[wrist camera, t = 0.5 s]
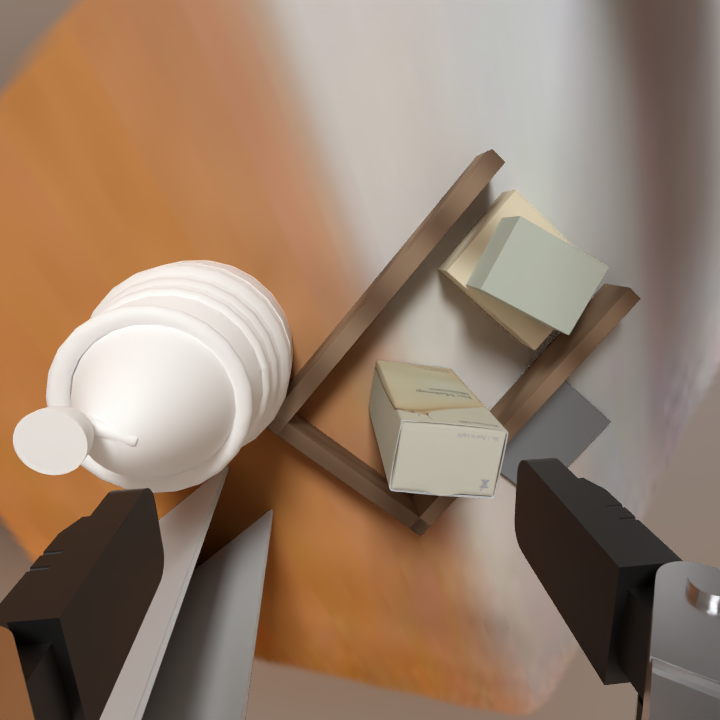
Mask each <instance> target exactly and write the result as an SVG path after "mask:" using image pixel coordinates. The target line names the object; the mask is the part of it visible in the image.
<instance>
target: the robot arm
mask: <svg viewBox="0 0 720 720" xmlns="http://www.w3.org/2000/svg"><path fill="white" fill-rule="evenodd" d="M515 532H516V537H517V541H518V544H519V547H520V549H521V551H522V553H523V554H524V556H525V558H526V559H527V561H528V562H529V564H530V566H531V567H532V569H533V570H534V572H535V574H536V575H537V577H538V579H539V580H540V582H541V583H542V585H543V587H544V588H545V590H546V591H547V593H548V595H549V596H550V598H551V600H552V601H553V603H554V604H555V606H556V608H557V609H558V611H559V612H560V614H561V616H562V617H563V619H564V621H565V622H566V624H567V625H568V627H569V629H570V630H571V632H572V633H573V635H574V637H575V638H576V640H577V642H578V643H579V645H580V646H581V648H582V650H583V651H584V653H585V654H586V656H587V658H588V659H589V661H590V663H591V664H592V666H593V667H594V669H595V671H596V672H597V674H598V675H599V677H600V679H601V680H602V682H603V683H604V685H609V684H618V683H627V682H631V684H632V685H633V686H634V688H635V689H636V691H637V692H638V695H637V702H636V708H635V720H720V569H718V568H715V567H712V566H709V565H705V564H701V563H696V562H687V561H682V560H681V559H680V558H679V557H678V556H677V555H676V554H675V553H674V552H673V551H672V550H670V549H669V548H668V547H667V546H666V545H665V544H664V543H663V542H662V541H661V540H660V539H659V538H658V537H656V536H655V535H654V534H653V533H652V532H651V531H650V530H649V529H648V528H647V527H646V526H645V525H643V524H642V523H641V522H640V521H639V520H636V519H635V516H634V515H633V514H632V513H631V512H629V511H628V510H627V509H626V508H625V507H624V508H623V507H622V504H621V503H620V502H619V501H618V500H616V499H615V498H614V497H613V496H612V495H611V494H610V493H609V492H608V491H607V490H605V489H604V488H602V487H600V486H598V485H596V484H594V483H592V482H590V481H588V480H586V479H584V478H577V477H576V476H575V475H574V474H573V473H572V472H571V471H570V470H569V469H568V468H567V467H566V466H565V465H564V464H563V463H562V462H561V461H560V460H558V459H557V458H543V459H530V460H522V461H520V463H519V465H518V470H517V486H516V504H515ZM163 569H164V549H163V543H162V538H161V532H160V526H159V521H158V515H157V509H156V504H155V499H154V495H153V492H152V491H151V489H149V488H140V489H127V490H114V491H110V492H109V493H108V494H107V495H106V497H105V498H104V499H103V500H102V502H101V503H100V504H99V505H98V507H97V508H96V509H95V511H94V512H93V513H92V514H91V516H88V517H82V518H80V519H79V520H78V521H76V522H75V523H73V524H72V525H70V526H69V527H68V528H66V529H65V530H63V531H62V532H60V533H59V534H58V535H57V536H56V538H55V539H54V540H53V541H52V542H51V544H50V545H49V546H48V547H47V548H46V550H45V551H44V554H43V555H42V556H40V557H39V558H38V559H37V560H36V561H35V563H34V564H33V565H32V566H31V567H30V572H26V573H25V575H24V576H23V577H22V578H21V579H20V580H19V582H18V583H17V584H16V585H15V586H14V588H13V589H12V590H11V591H10V592H9V594H8V595H7V596H6V597H5V598H4V600H3V601H2V602H1V603H0V720H100V717H101V715H102V713H103V711H104V708H105V706H106V704H107V702H108V699H109V697H110V695H111V693H112V690H113V688H114V686H115V684H116V681H117V679H118V677H119V675H120V672H121V670H122V668H123V666H124V663H125V661H126V659H127V656H128V654H129V652H130V650H131V647H132V645H133V643H134V641H135V638H136V636H137V634H138V632H139V629H140V627H141V625H142V623H143V620H144V618H145V616H146V614H147V611H148V609H149V607H150V605H151V602H152V600H153V598H154V596H155V593H156V591H157V589H158V587H159V584H160V582H161V579H162V575H163Z"/></svg>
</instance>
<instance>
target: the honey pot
mask: <svg viewBox="0 0 720 720" xmlns="http://www.w3.org/2000/svg"><path fill="white" fill-rule="evenodd" d="M292 361H293V345H292V333H291V330H290V327H289V324H288V321H287V318H286V315H285V313H284V311H283V310H282V308H281V307H280V305H279V304H278V302H277V301H276V299H275V298H274V296H273V295H272V293H271V292H270V291H269V290H268V289H266V288H265V287H264V286H263V285H262V284H261V283H260V282H259V281H257V280H256V279H255V278H254V277H253V276H251V275H249V274H247V273H245V272H243V271H241V270H239V269H237V268H235V267H233V266H231V265H227V264H222V263H218V262H214V261H209V260H196V261H180V262H175V263H171V264H166V265H162V266H158V267H155V268H152V269H149V270H145V271H142V272H139V273H136V274H134V275H133V276H131V277H130V278H128V279H127V280H125V281H123V282H122V283H120V284H119V285H117V286H116V287H114V288H113V289H112V290H111V291H110V292H109V293H108V295H107V296H106V297H105V298H104V299H103V300H102V302H101V303H100V304H99V305H98V306H97V308H96V309H95V310H94V311H93V313H92V316H91V318H90V320H88V321H87V322H85V323H83V324H82V325H80V326H79V327H77V328H76V329H75V330H74V331H73V332H72V334H71V335H70V336H69V337H68V338H67V339H66V341H65V342H64V343H63V344H62V345H61V347H60V348H59V349H58V351H57V353H56V356H55V358H54V360H53V363H52V365H51V367H50V370H49V372H48V381H47V392H46V400H47V405H48V407H46V408H43V409H39V410H37V411H35V412H33V413H31V414H29V415H27V416H26V417H24V418H23V419H22V420H21V421H20V422H19V423H18V425H17V426H16V428H15V431H14V435H13V445H14V448H15V451H16V453H17V455H18V456H19V458H20V459H21V460H22V461H23V462H24V463H25V464H26V465H27V466H28V467H30V468H31V469H33V470H35V471H37V472H40V473H43V474H48V475H60V474H65V473H68V472H70V471H73V470H74V469H76V468H77V467H78V466H79V465H81V466H83V467H84V468H86V469H87V470H89V471H90V472H91V473H93V474H94V475H96V476H97V477H99V478H100V479H102V480H104V481H107V482H109V483H112V484H114V485H117V486H119V487H122V488H124V489H140V488H149V489H151V491H152V492H153V493H159V492H173V491H179V490H182V489H186V488H189V487H192V486H195V485H198V484H201V483H203V482H204V481H206V480H207V479H209V478H211V477H212V476H214V475H216V474H217V473H219V472H220V471H222V470H223V468H224V467H225V466H226V465H227V464H228V463H229V462H230V461H231V460H232V459H233V458H234V457H235V456H236V455H237V454H238V452H239V450H240V448H241V447H243V446H245V445H246V444H248V443H249V442H251V441H253V440H254V439H256V438H257V437H258V436H259V434H260V433H261V432H262V431H263V430H264V429H265V428H266V427H267V426H268V425H269V424H270V423H271V422H272V421H273V420H274V418H275V416H276V415H277V413H278V411H279V409H280V407H281V405H282V403H283V401H284V399H285V398H286V393H287V388H288V384H289V379H290V374H291V368H292ZM72 377H73V385H72ZM71 386H72V394H71ZM70 395H71V397H70Z"/></svg>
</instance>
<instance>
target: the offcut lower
mask: <svg viewBox="0 0 720 720" xmlns="http://www.w3.org/2000/svg"><path fill="white" fill-rule="evenodd" d="M515 216H521V217H523V218H525V219H527V220H528V221H530V222H532V223H534V224H535V225H537V226H539V227H541V228H542V229H544V230H546V231H548V232H549V233H551V234H553V235H555V236H556V237H558V238H560V239H562V240H563V241H565V242H567V243H569V242H568V241H567V240H566V239H565V238H564V237H563V236H562V235H561V234H560V233H559V232H558V231H557V230H556V229H555V228H554V227H553V226H552V225H551V224H550V223H549V222H548V221H547V220H546V219H545V218H544V217H543V216H542V215H541V214H540V213H539V212H538V211H537V210H536V209H535V208H534V207H533V206H532V205H531V204H530V203H529V202H528V201H527V200H526V199H525V198H524V197H523V196H522V195H521V194H520V193H519V192H518V191H517V190H512V191H507V192H503V193H501V195H500V196H499V197H498V198H497V199H496V200H495V202H494V203H493V204H492V205H491V206H490V208H489V209H488V210H487V211H486V212H485V213H484V215H483V216H482V217H481V218H480V219H479V221H478V222H477V223H476V224H475V225H474V226H473V228H472V229H471V230H470V231H469V232H468V234H467V235H466V236H465V237H464V238H463V239H462V241H461V242H460V243H459V244H458V245H457V247H456V248H455V249H454V250H453V251H452V252H451V254H450V255H449V256H448V257H447V258H446V260H445V261H444V262H443V263H442V264H441V265H440V267H439V268H438V269H439V270H440V271H441V272H442V273H443V274H444V275H445V276H446V277H448V278H449V279H450V280H451V281H452V282H453V283H454V284H455V285H457V286H458V287H459V288H460V289H461V290H462V291H463V292H464V293H465V294H467V295H468V296H469V297H470V298H471V299H472V300H473V301H474V302H476V303H477V304H478V305H479V306H480V307H481V308H482V309H483V310H484V311H486V312H487V313H488V314H489V315H490V316H491V317H492V318H493V319H495V320H496V321H497V322H498V323H499V324H500V325H501V326H502V327H503V328H505V329H506V330H507V331H508V332H509V333H510V334H511V335H512V336H514V337H515V338H516V339H517V340H518V341H519V342H520V343H522V344H524V345H526V346H527V347H529V348H531V349H533V350H536V349H537V348H538V347H539V346H540V345H541V343H542V342H543V341H544V340H545V339H546V338H547V337H548V336H549V335H550V333H551V332H552V331H553V330H554V329H551V328H549V327H547V326H545V325H543V324H541V323H539V322H537V321H535V320H533V319H531V318H529V317H527V316H526V315H524V314H522V313H520V312H518V311H516V310H514V309H512V308H510V307H508V306H506V305H505V304H503V303H501V302H499V301H497V300H495V299H493V298H491V297H489V296H487V295H485V294H484V293H482V292H480V291H478V290H476V289H474V288H472V287H470V286H468V285H466V284H467V282H468V280H469V278H470V276H471V274H472V272H473V270H474V269H475V267H476V265H477V263H478V261H479V259H480V257H481V256H482V254H483V252H484V250H485V248H486V246H487V244H488V243H489V241H490V239H491V237H492V235H493V233H494V231H495V230H496V228H497V226H498V224H499V222H500V220H501V218H504V217H515ZM569 244H570V243H569ZM570 245H571V244H570Z"/></svg>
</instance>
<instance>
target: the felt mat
mask: <svg viewBox="0 0 720 720" xmlns="http://www.w3.org/2000/svg"><path fill="white" fill-rule="evenodd" d="M610 422H611V421H610V420H608V419H607V418H606V417H605V416H604V415H603V414H602V413H601V412H600V411H598V410H597V409H596V408H595V407H594V406H593V405H592V404H591V403H589V402H588V401H587V400H586V399H585V398H584V397H583V396H582V395H580V394H579V393H578V392H577V391H576V390H575V389H574V388H573V387H571V386H570V385H569V384H568V383H567V382H566V381H564V382H563V383H562V384H561V385H560V386H559V388H558V389H557V390H556V391H555V392H554V393H553V394H552V395H551V396H550V397H549V398H548V399H547V401H546V402H545V403H544V404H543V405H542V406H541V407H540V408H539V409H538V410H537V411H536V412H535V414H534V415H533V416H532V417H531V418H530V419H529V420H528V421H527V422H526V423H525V424H524V425H523V427H522V428H521V429H520V430H519V431H518V432H517V433H516V434H515V435H514V436H513V437H512V438H511V440H510V441H509V442H508V443H507V444H506V449H505V454H504V459H503V463H502V468H501V473H502V474H503V475H505V476H506V477H507V478H508V479H510V480H511V481H512V482H513V483H515V484H516V485H517V470H518V465H519V463H520V461H522V460H530V459H543V458H557V459H558V460H560V461H561V462H562V463H563V464H564V465H565V466H566V467H568V466H569V465H570V464H571V463H572V462H573V461H574V460H575V459H576V458H577V457H578V456H579V455H580V454H581V453H582V452H583V451H584V450H585V448H586V447H587V446H588V445H589V444H590V443H591V442H592V441H593V440H594V439H595V438H596V437H597V436H598V435H599V434H600V433H601V432H602V431H603V430H604V429H605V427H606V426H607V425H608V424H609V423H610Z"/></svg>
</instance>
